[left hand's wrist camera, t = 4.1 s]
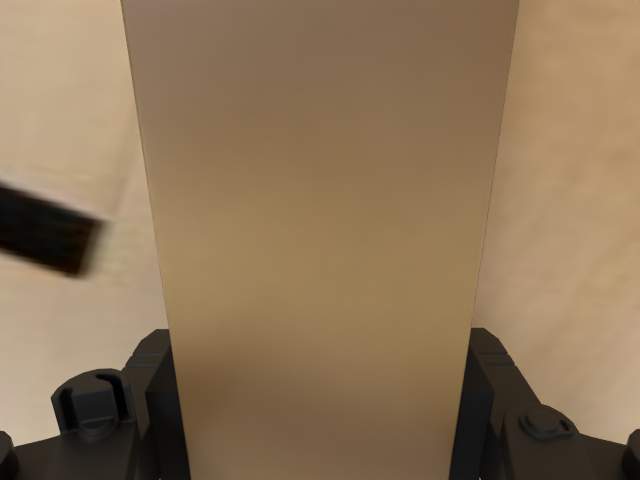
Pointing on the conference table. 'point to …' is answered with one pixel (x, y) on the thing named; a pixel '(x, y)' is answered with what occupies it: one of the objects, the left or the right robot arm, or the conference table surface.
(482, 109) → the beam
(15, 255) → the conference table surface
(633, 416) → the conference table surface
